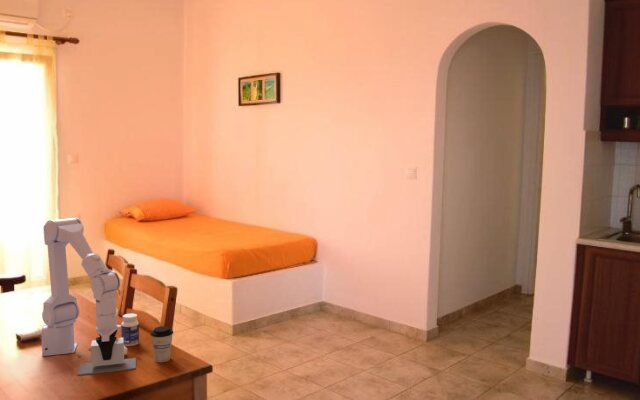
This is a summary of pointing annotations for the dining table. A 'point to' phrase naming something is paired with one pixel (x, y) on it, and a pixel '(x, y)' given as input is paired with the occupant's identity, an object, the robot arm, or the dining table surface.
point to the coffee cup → (162, 343)
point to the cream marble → (125, 350)
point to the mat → (107, 367)
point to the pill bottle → (130, 330)
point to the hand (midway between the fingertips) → (107, 356)
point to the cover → (116, 353)
